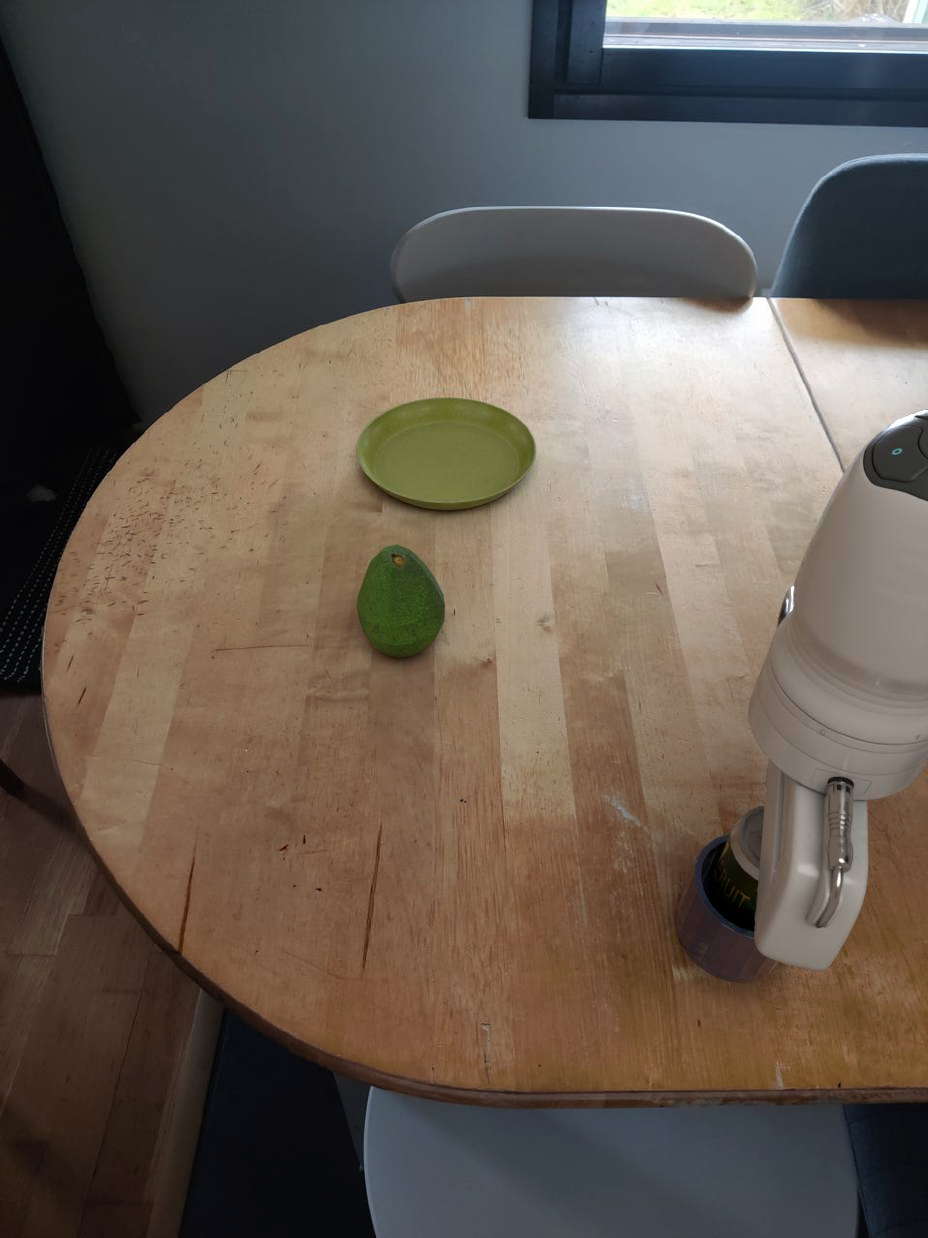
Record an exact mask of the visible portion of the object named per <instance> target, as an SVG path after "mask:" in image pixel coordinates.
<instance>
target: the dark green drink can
mask: <svg viewBox="0 0 928 1238" xmlns="http://www.w3.org/2000/svg"><path fill="white" fill-rule="evenodd" d="M764 807H765V805H759V806H756V807H754V808H752V809H748V811H747V812H746V813H745V814H744V815H742V816H741V817H740V818H739V819H738V820H737V821H736V822H735V823H734V825H733V827H732V830H731V832H730V833H731V834H730V833H729V834H730V836H729V838H728V841H727V843H726V845H725V848H724V850H723V852H722V854H721V857H720V859H719V861H718V864H717V866H716V868H715V870H714V873H713V875H712V877H711V880H710V882H709V884H708V886H707V889H706V891H705V894H706V895H707V897H708V899H709V901H710V903H711V904H712V906H713V907H714V908H715V909H716V910H717V911H718V912H719V913H720V914H721V915H722V916H723V917H724V918H725V919H726V920H728V921H730V922H731V923H733V924H735V925H736V926H738V927H740V928H743V929H746V930H750V931H753V932H754V930H755V910H756V900H757V894H758V881H759V869H760V857H761V844H762V832H763V819H764Z"/></svg>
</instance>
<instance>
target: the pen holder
mask: <svg viewBox="0 0 928 1238" xmlns="http://www.w3.org/2000/svg"><path fill="white" fill-rule="evenodd" d="M730 834H731V832H730V833H728V834H727V833H726V834H724V835H720V836H718V837H715V838H713V839H712V840H711V841H709V842H708V843H707V844H706V845H704V846H703V847H702V849H701V850H700V851H699V854H698V856H697V857H696V859H695V862H694V864H693V866H692V869H691V872H690V874H689V876H688V879H687V882H686V884H685V887H684V889H683V891H682V894H681V896H680V898H679V899H680V900H679V902H678V906H677V910H676V913H675V926H676V932H677V937H678V939H679V941H680V943H681V946H682V948H683V950H684V951H685V953H686V954H687V955H688V957H689V958H690V959H691V960H692V961H693V962H694V963H695V964H696V966H698V968H701V969H702V970H703V971H704V972H706V973H708V974H709V975H711V976H713V977H715V978H718V979H720V980H723V981H726V982H731V983H732V982H733V983H749V982H754V981H758V980H760V979H762V978H765V977H766V976H768V975H769V974H770V973H772V971H773V970H775V968H776V967H777V966H778V965H779V964H780V962H779V961H776V960H773V959H770V958H768V957H766V956H764V955H763V954H761V953H760V951H759V950H758V949H757V947H756V945H755V942H754V932H753V931H750V930H746V929H743V928H740V927H738V926H736V925H735V924H733V923H731V922H730V921H728V920H726V919H725V918H724V917H723V916H722V915H721V914H720V913H719V912H718V911H717V910H716V909H715V908H714V907H713V906H712V904H711V903H710V901H709V899H708V897H707V895H706V894H705V891H706V889H707V886H708V884H709V882H710V880H711V877H712V875H713V873H714V870H715V868H716V866H717V864H718V861H719V859H720V857H721V854H722V852H723V850H724V848H725V845H726V843H727V841H728V838H729V836H730Z"/></svg>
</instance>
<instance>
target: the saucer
mask: <svg viewBox="0 0 928 1238" xmlns="http://www.w3.org/2000/svg"><path fill="white" fill-rule="evenodd" d="M355 452H356V458H357V459H356V460H357V461H358V465H359V466H360V468H361V470H362V471H363V472H364V473H365V475H366V477H368V478H369V479H370V481H371V482H372V483H373V484H375V485H376V486H377V487H378V488H379V489H380V490H382V491H384V492H385V493H387V494H388V495H389V496H391V497H393V498H395V499H397V500H399V501H401V502H404V503H407V504H409V505H412V506H415V507H419V508H423V509H424V508H425V509H428V510H429V509H430V510H436V511H437V510H438V511H456V510H464V509H465V510H466V509H470V508H476V507H478V506H482V505H485V504H487V503H491V502H492V501H494V500H496V499H499V498H500V497H502V496H504V495H505V494H507V493H509V492H510V491H511V490H512V489H514V488H515V487H516V486H517V485H518V484H519V483H520V482H521V481H522V480H523V479H524V478H525V477H526V476H527V475H528V473H530V471H531V469H532V467H533V466H534V463H535V460H536V458H537V445H536V441H535V437H534V435H533V434H532V432H531V430H530V428H529V427H528V426H527V425H526V424H525V423H524V422H523V421H522V420H521V419H519V418H518V417H517V416H516V415H514V414H513V413H511V412H510V411H508V410H506V409H504V408H502V407H499V406H496V405H494V404H490V403H489V402H484V401H482V400H476V399H471V398H464V397H450V396H449V397H447V396H446V397H443V396H442V397H441V396H440V397H430V398H421V399H416V400H412V401H407V402H404V403H401V404H398V405H396V406H393V407H391V408H389V409H387V410H385V411H383V412H381V413H380V414H379V415H377V416H376V417H374V418H373V419H371V421H370V422H369V423H367V424H366V425H365V427H364V428H363V429H362V431H361V432H360V434H359V435H358V439H357V442H356V447H355Z"/></svg>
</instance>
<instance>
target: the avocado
mask: <svg viewBox="0 0 928 1238" xmlns="http://www.w3.org/2000/svg"><path fill="white" fill-rule="evenodd" d="M356 611H357V617H358V622H359V625H360V627H361V629H362V632H363V633H364V635H365V636H366V638H367V641H369V643H370V644H371V646H373V647H374V649H376V650H378V651H379V652H381V653H382V654H384V655H386V656H389V657H394V658H398V659H400V658H408V657H412V656H415V655H417V654H420V653H421V652H423V651H425V650H426V649H428V648H429V647H430V646H431V645H432V644H433V643H434V641H436V638H437V637H438V635H439V633H440V631H441V629H442V627H443V625H444V623H445V621H446V620H445V617H446V603H445V595H444V593H443V590H442V589H441V587H440V584H439V582H438V581H437V578H436V577H435V575H434V574H433V572H432V570H431V569H429V566H427V565H426V563H425V562H424V561H423V560H422V559H421V558H420V557H419V556H418V555H417V553H415V552H413V550H411V549H410V548H408V547H406V546H402V545H400V544H394V545H392V544H391V545H388V546H384V547H383V548H382V549H381V550H380V551H379V552H377V554H375V556H374V557H373V558H372V559H371V561H369V564H368V566H367V568H366V571H365V574H364V577H363V580H362V583H361V586H360V588H359V591H358V595H357V600H356Z"/></svg>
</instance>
